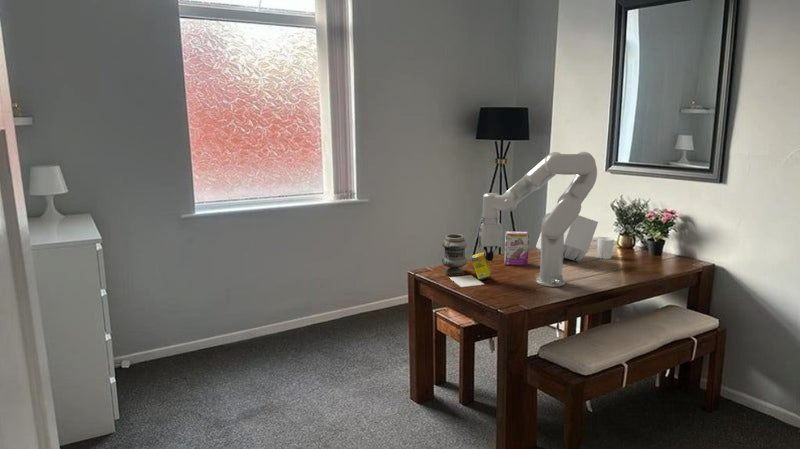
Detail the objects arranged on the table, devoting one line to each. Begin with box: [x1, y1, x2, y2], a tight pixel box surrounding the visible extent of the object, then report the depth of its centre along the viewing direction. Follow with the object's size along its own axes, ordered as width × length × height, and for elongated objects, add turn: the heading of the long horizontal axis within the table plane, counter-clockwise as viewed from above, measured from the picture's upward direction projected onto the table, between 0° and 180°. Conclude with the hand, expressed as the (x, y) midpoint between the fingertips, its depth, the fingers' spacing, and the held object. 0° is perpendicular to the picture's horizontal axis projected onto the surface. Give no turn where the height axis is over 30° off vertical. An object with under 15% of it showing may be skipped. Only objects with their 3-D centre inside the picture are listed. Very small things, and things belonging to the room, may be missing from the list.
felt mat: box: [449, 274, 485, 288], centre depth 243 cm, size 14×11×1 cm
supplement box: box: [470, 251, 492, 282], centre depth 245 cm, size 6×6×11 cm
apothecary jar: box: [441, 233, 468, 276], centre depth 255 cm, size 12×12×18 cm
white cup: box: [596, 236, 615, 260], centre depth 278 cm, size 8×8×10 cm
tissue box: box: [535, 214, 599, 263], centre depth 273 cm, size 20×16×25 cm
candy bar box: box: [504, 231, 530, 267], centre depth 267 cm, size 11×5×16 cm, turn 84°
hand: (489, 260), depth 245 cm, fingers closed
